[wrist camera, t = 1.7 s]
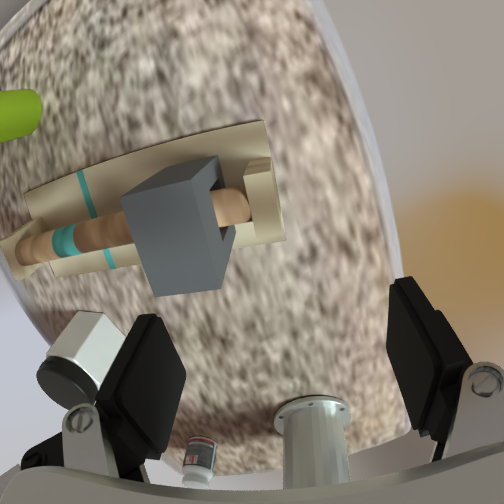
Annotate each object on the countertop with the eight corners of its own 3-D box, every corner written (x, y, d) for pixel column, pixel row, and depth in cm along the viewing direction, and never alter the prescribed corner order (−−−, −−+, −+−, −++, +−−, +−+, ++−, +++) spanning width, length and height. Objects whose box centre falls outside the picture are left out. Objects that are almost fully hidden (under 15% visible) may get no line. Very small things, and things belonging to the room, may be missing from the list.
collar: (236, 232, 30) (220, 288, 21) (187, 240, 31) (154, 297, 22) (217, 154, 27) (190, 179, 18) (166, 166, 28) (119, 197, 19)
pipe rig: (285, 237, 32) (289, 273, 26) (59, 275, 37) (28, 306, 30) (263, 120, 27) (260, 123, 21) (27, 192, 32) (-12, 212, 25)
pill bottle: (182, 436, 51) (172, 479, 42) (207, 433, 50) (198, 479, 41) (199, 450, 53) (191, 491, 44) (223, 447, 52) (217, 490, 43)
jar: (79, 298, 38) (34, 356, 27) (130, 326, 39) (94, 392, 28) (72, 338, 42) (36, 392, 31) (117, 363, 43) (88, 423, 32)
